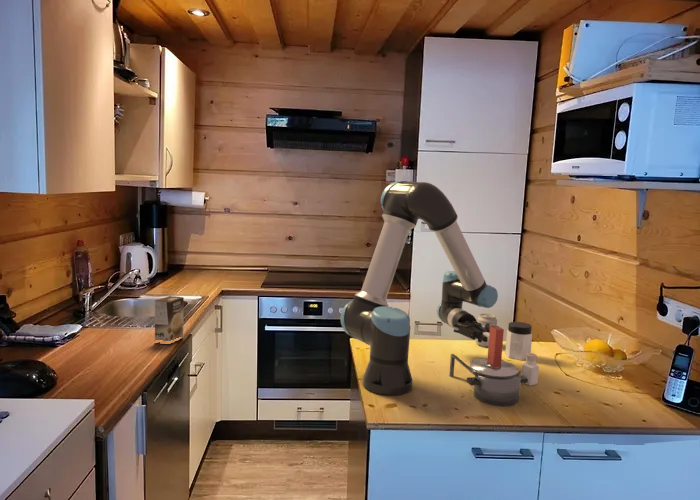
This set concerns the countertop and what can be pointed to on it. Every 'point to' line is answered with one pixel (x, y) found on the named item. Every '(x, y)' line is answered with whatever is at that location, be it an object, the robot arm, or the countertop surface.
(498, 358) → the lid
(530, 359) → the salt shaker
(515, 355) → the jar
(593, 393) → the countertop surface
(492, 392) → the cooker
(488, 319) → the can
